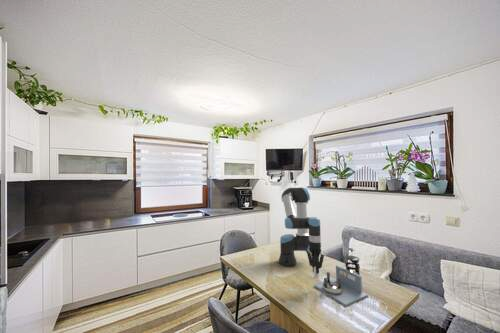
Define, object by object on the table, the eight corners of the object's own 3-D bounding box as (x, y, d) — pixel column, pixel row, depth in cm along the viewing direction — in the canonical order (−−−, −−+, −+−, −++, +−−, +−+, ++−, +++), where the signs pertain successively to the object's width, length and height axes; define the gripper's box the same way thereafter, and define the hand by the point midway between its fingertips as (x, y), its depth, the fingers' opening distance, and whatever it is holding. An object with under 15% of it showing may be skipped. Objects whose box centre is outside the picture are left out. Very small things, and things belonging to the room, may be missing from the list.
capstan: (318, 286, 130) (318, 275, 131) (331, 282, 136) (330, 271, 136) (333, 296, 120) (333, 283, 120) (347, 291, 125) (346, 279, 126)
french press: (354, 288, 132) (353, 252, 133) (342, 281, 140) (340, 248, 141) (365, 283, 137) (363, 249, 139) (352, 277, 145) (351, 245, 147)
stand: (314, 286, 134) (313, 269, 134) (334, 279, 143) (334, 263, 144) (345, 306, 112) (344, 286, 113) (367, 296, 122) (366, 277, 122)
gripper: (303, 240, 135) (304, 276, 134) (321, 244, 126) (322, 283, 124) (309, 238, 140) (310, 272, 139) (326, 242, 131) (328, 279, 129)
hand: (316, 277), depth 131 cm, fingers closed
